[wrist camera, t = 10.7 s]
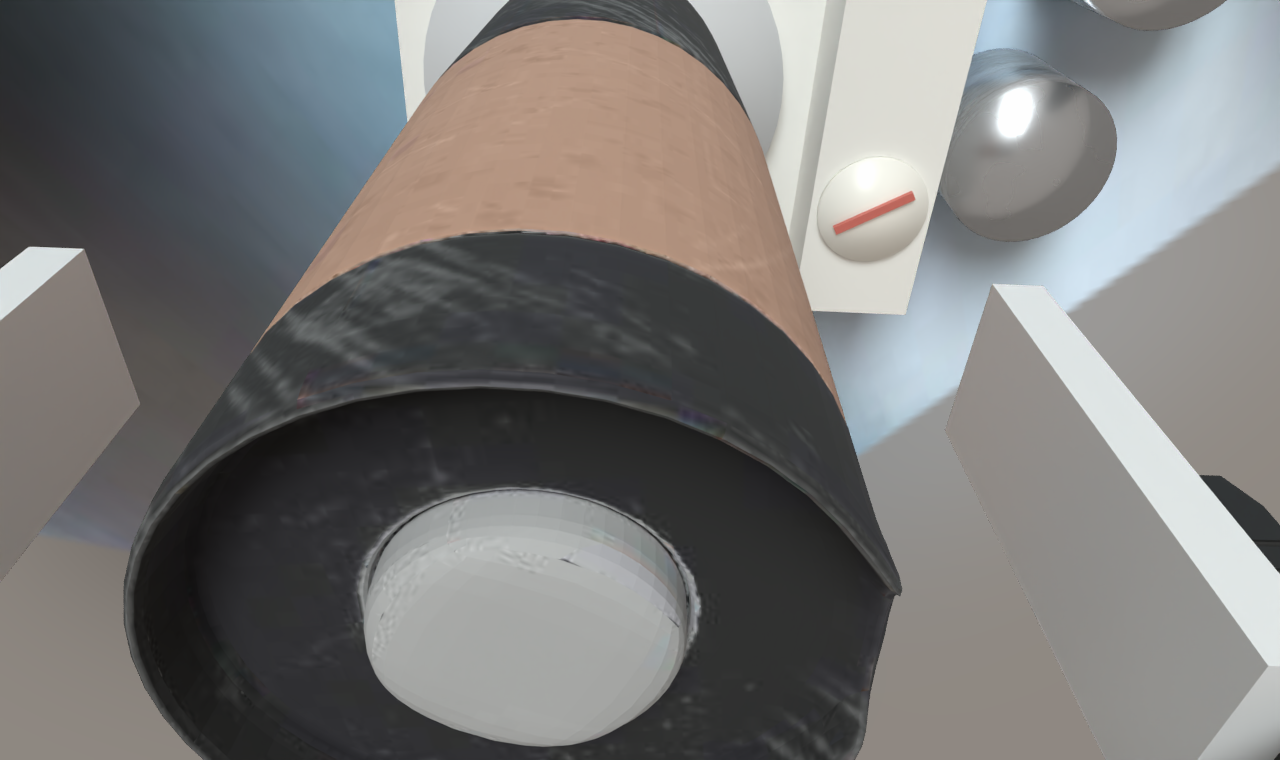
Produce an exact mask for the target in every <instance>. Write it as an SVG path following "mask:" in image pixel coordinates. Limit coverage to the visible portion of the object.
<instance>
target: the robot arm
mask: <svg viewBox="0 0 1280 760" xmlns="http://www.w3.org/2000/svg"><path fill="white" fill-rule="evenodd" d="M139 405H140V402H139V399H138V396H137V394H136V391H135V388H134V385H133V383H132V380H131V377H130V374H129V371H128V369H127V366H126V363H125V360H124V358H123V355H122V352H121V349H120V347H119V344H118V341H117V338H116V335H115V333H114V330H113V327H112V324H111V322H110V319H109V316H108V313H107V311H106V308H105V305H104V302H103V299H102V297H101V294H100V291H99V288H98V286H97V283H96V280H95V277H94V275H93V272H92V269H91V266H90V263H89V261H88V258H87V255H86V252H85V250H84V249H75V248H49V247H28V248H27V249H25V250H24V251H23V252H22V253H20V254H19V255H18V256H16V257H15V258H14V259H13V260H11V261H10V262H9V263H7V264H6V265H5V266H3V267H2V268H1V269H0V582H1V581H2V579H3V578H4V577H5V576H6V574H7V573H8V571H9V570H10V569H11V568H12V566H13V565H14V564H15V563H16V562H17V560H18V559H19V558H20V556H21V555H22V554H23V552H24V551H25V550H26V549H27V548H28V546H29V545H30V544H31V542H32V541H33V540H34V539H35V537H36V536H37V535H38V534H39V532H40V531H41V530H42V528H43V527H44V526H45V525H46V523H47V522H48V521H49V520H50V518H51V517H52V516H53V514H54V513H55V512H56V511H57V509H58V508H59V507H60V506H61V504H62V503H63V502H64V501H65V499H66V498H67V497H68V495H69V494H70V493H71V492H72V490H73V489H74V488H75V487H76V485H77V484H78V483H79V481H80V480H81V479H82V478H83V476H84V475H85V474H86V473H87V471H88V470H89V469H90V467H91V466H92V465H93V464H94V462H95V461H96V460H97V459H98V457H99V456H100V455H101V453H102V452H103V451H104V450H105V448H106V447H107V446H108V445H109V443H110V442H111V441H112V439H113V438H114V437H115V436H116V434H117V433H118V432H119V431H120V429H121V428H122V427H123V426H124V424H125V423H126V422H127V420H128V419H129V418H130V417H131V415H132V414H133V413H134V412H135V410H136V409H137V408H138V406H139ZM945 431H946V433H947V435H948V438H949V440H950V442H951V444H952V446H953V448H954V450H955V452H956V454H957V456H958V458H959V460H960V462H961V464H962V466H963V468H964V470H965V473H966V475H967V477H968V479H969V481H970V483H971V485H972V487H973V489H974V491H975V493H976V495H977V497H978V499H979V501H980V503H981V505H982V507H983V510H984V512H985V513H986V516H987V518H988V520H989V522H990V524H991V526H992V528H993V530H994V532H995V534H996V536H997V538H998V540H999V542H1000V544H1001V547H1002V548H1003V551H1004V553H1005V555H1006V557H1007V559H1008V561H1009V563H1010V565H1011V567H1012V569H1013V571H1014V573H1015V575H1016V577H1017V579H1018V582H1019V584H1020V586H1021V587H1022V590H1023V592H1024V594H1025V596H1026V598H1027V600H1028V602H1029V604H1030V606H1031V608H1032V610H1033V612H1034V614H1035V617H1036V619H1037V621H1038V623H1039V625H1040V627H1041V629H1042V631H1043V633H1044V635H1045V637H1046V639H1047V641H1048V643H1049V645H1050V647H1051V649H1052V651H1053V654H1054V655H1055V658H1056V660H1057V662H1058V664H1059V666H1060V668H1061V670H1062V672H1063V674H1064V676H1065V678H1066V680H1067V682H1068V684H1069V686H1070V688H1071V691H1072V693H1073V695H1074V696H1075V698H1076V701H1077V703H1078V705H1079V707H1080V709H1081V711H1082V713H1083V715H1084V717H1085V719H1086V721H1087V723H1088V726H1089V727H1090V729H1091V732H1092V733H1093V736H1094V738H1095V740H1096V742H1097V744H1098V746H1099V748H1100V750H1101V752H1102V754H1103V756H1104V758H1105V760H1280V525H1279V524H1278V522H1277V521H1276V520H1275V519H1274V518H1273V517H1272V516H1271V515H1270V513H1269V512H1268V511H1267V510H1266V509H1265V508H1264V506H1262V505H1261V504H1260V503H1258V502H1257V501H1255V500H1254V499H1253V498H1251V497H1250V496H1248V495H1247V494H1245V493H1244V492H1243V491H1241V490H1240V489H1238V488H1237V487H1236V486H1234V485H1232V484H1231V483H1230V482H1229V481H1227V480H1226V479H1224V478H1223V477H1222V476H1209V475H1208V476H1207V475H1206V476H1205V475H1198V474H1197V473H1196V472H1195V470H1194V469H1193V468H1192V467H1191V465H1190V464H1189V463H1188V462H1187V460H1186V459H1185V458H1184V457H1183V456H1182V455H1181V453H1180V452H1179V451H1178V449H1177V448H1176V447H1175V446H1174V445H1173V443H1172V442H1171V441H1170V440H1169V439H1168V437H1167V436H1166V435H1165V434H1164V432H1163V431H1162V430H1161V429H1160V428H1159V427H1158V425H1157V424H1156V423H1155V421H1154V420H1153V419H1152V418H1151V417H1150V416H1149V414H1148V413H1147V412H1146V411H1145V409H1144V408H1143V407H1142V406H1141V404H1140V403H1139V402H1138V401H1137V400H1136V398H1135V397H1134V396H1133V395H1132V393H1131V392H1130V391H1129V390H1128V389H1127V387H1126V386H1125V385H1124V384H1123V382H1122V381H1121V380H1120V379H1119V378H1118V376H1117V375H1116V374H1115V373H1114V372H1113V370H1112V369H1111V368H1110V367H1109V365H1108V364H1107V363H1106V362H1105V361H1104V359H1103V358H1102V357H1101V356H1100V354H1099V353H1098V352H1097V351H1096V350H1095V348H1094V347H1093V346H1092V345H1091V344H1090V342H1089V341H1088V340H1087V339H1086V337H1085V336H1084V335H1083V334H1082V333H1081V331H1080V330H1079V329H1078V328H1077V326H1076V325H1075V324H1074V323H1073V322H1072V320H1071V319H1070V318H1069V317H1068V315H1067V314H1066V313H1065V312H1064V311H1063V309H1062V308H1061V307H1060V306H1059V305H1058V303H1057V302H1056V301H1055V300H1054V298H1053V297H1052V296H1051V295H1050V294H1049V292H1048V291H1047V290H1046V289H1045V287H1044V286H1034V285H1008V284H992V286H991V289H990V293H989V296H988V299H987V302H986V305H985V308H984V311H983V314H982V317H981V320H980V323H979V326H978V330H977V333H976V336H975V339H974V342H973V345H972V348H971V351H970V354H969V357H968V360H967V363H966V366H965V370H964V373H963V376H962V379H961V382H960V385H959V388H958V391H957V394H956V397H955V400H954V404H953V406H952V410H951V413H950V416H949V419H948V422H947V425H946V428H945Z"/></svg>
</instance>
